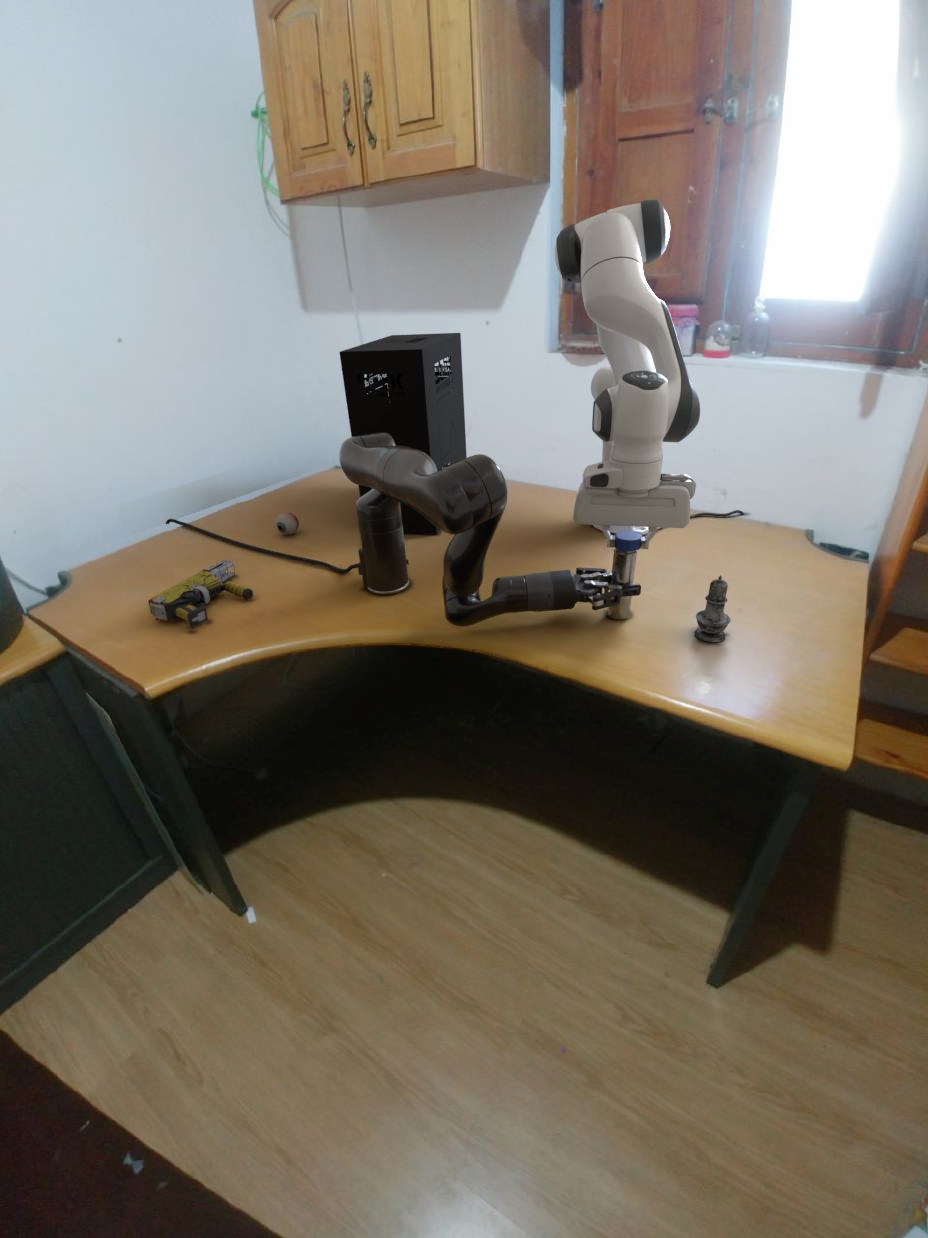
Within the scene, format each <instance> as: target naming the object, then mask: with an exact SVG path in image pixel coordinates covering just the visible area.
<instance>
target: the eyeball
mask: <svg viewBox="0 0 928 1238" xmlns="http://www.w3.org/2000/svg"><path fill="white" fill-rule="evenodd" d="M299 525H300V522H299V519H298V517H297V516H296V515H295V514H294V513H292V512H287V511H286V512H282V513H280V514H279V515H278V516H277V517H276V520H275V527H276V529H277V530H278V531H279V532H280V533H281V534H282V535H285V536H286V535H287V536H289V535H293V534H295V533H296V532H297V531H298V529H299Z"/></svg>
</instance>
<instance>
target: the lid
mask: <svg viewBox="0 0 928 1238" xmlns="http://www.w3.org/2000/svg"><path fill="white" fill-rule="evenodd" d="M614 536H615V539H616V540H615V547H614V549H615V548H616V549H618V550H621V551H626V552H632V551H637V552H638V551H639V550H641V549H640V545H641V539H642V537H643V535H641V534H640V533H637V532H634V531H620V532H617V533H614Z"/></svg>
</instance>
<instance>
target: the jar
mask: <svg viewBox="0 0 928 1238" xmlns="http://www.w3.org/2000/svg"><path fill="white" fill-rule="evenodd" d="M637 555H638V550H637V551H632V552H626V551H621V550H618V549H616V548H615V547H614V549H613V556H612V567H611V573H612V575H611V585H620V586H621V585H626V584H634V580H635V573H636V564H637V563H636V562H637ZM610 591H614V590H609V592H610ZM632 597H633V596H626V597H621V602H620V604H617V605H614V606H610V607H607V615H608V617H609V618H612V619H615V620H626V619H628V618H629V617H630V614H631V606H632ZM611 600H614V599H611Z"/></svg>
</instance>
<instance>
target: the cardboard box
mask: <svg viewBox="0 0 928 1238" xmlns="http://www.w3.org/2000/svg"><path fill="white" fill-rule="evenodd" d="M462 354H463V353H462V336H461V332H447V333H446V332H442V333H441V332H440V333H415V334H413V333H412V334H391V335H388V336H384V337H382V338H379V339H376V340H373V341H368V342H366V343H363V344H359V345H356V346H354V347H351V348H347V349H343V350H341V351H339V359H340V367H341V372H342V380H343V386H344V387H343V388H344V394H345V395H344V396H345V400H346V408H347V409H346V410H347V415H348V421H349V430H350V438H351V437H354V436H360V435H367V434H373V433H379V432H386V433H388V434H390V435H391V436H392V438H393V440H394V442H395V444H396V445H400V446H407V447H411V448H414V449H417V450H420V451H422V452H424V453H426V454H427V455H428V456H429V457H430V458H431V459H432V460H433V462H434V463H435V465H436V468H437V472H438V471H440V470H442V469H444V468H446V467H448V466H450V465H452V464H454V463H456V462H459V461H461V460H463V459H465V458H468V457H467V455H468V454H467V439H466V437H467V436H466V418H465V417H466V415H465V399H464V397H465V396H464V395H465V394H464V377H463V375H464V374H463V357H462V356H463V355H462ZM445 359H446V360H445ZM441 361H442V363H441ZM436 364H438V365H436ZM372 489H373V488H371V487H367V486H363V485H358V492H359V498H360V497H362V496H363V495H365V494H366V493H368V492H369V491H370V490H372ZM400 506H401V515H402V524H403V533H404V534H416V535H417V534H419V535H438V533H439V532H440V531H441V530H440V529H439V528H438V527H436V526H435V525H434V524H432V523H431V522H430V521H429V520H427V519H426V518H425V517H424V516H422V515H421V514H420V513H419V512H417V511H416V510H414V509H412V508H411V507H409V506H407V505H405V504H403V503H400Z"/></svg>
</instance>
